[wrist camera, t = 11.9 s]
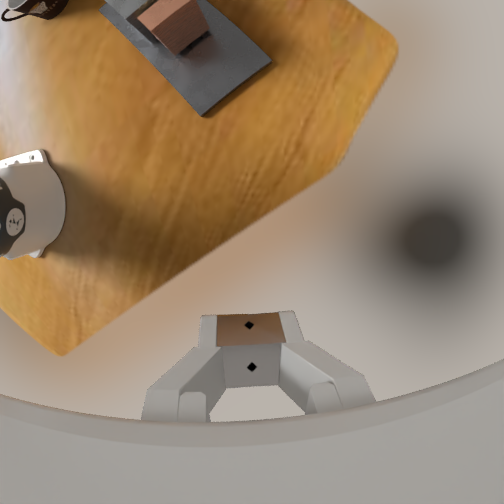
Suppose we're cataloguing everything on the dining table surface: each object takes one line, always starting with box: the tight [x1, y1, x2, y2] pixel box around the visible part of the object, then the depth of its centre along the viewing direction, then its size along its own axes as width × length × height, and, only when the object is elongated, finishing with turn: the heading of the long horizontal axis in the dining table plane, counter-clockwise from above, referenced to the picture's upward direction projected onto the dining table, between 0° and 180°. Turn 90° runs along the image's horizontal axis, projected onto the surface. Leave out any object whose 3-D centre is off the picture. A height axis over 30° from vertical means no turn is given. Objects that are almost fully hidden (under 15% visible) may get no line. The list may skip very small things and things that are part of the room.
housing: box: [99, 0, 272, 117], centre depth 29 cm, size 28×12×10 cm, turn 40°
